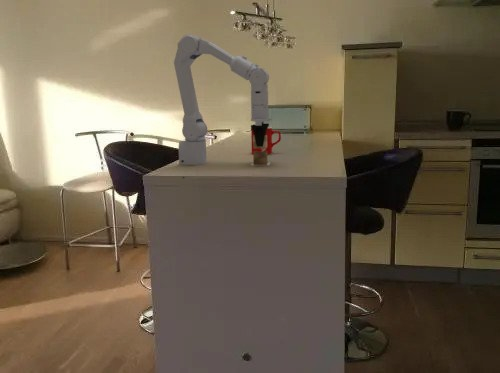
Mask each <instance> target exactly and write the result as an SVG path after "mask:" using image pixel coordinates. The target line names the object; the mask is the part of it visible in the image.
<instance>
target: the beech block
mask: <svg viewBox="0 0 500 373" xmlns="http://www.w3.org/2000/svg"><path fill="white" fill-rule="evenodd" d="M253 148H267V135H265V137H264V144H263V146H258V147H257V145H256V141H255V136H253Z"/></svg>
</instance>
